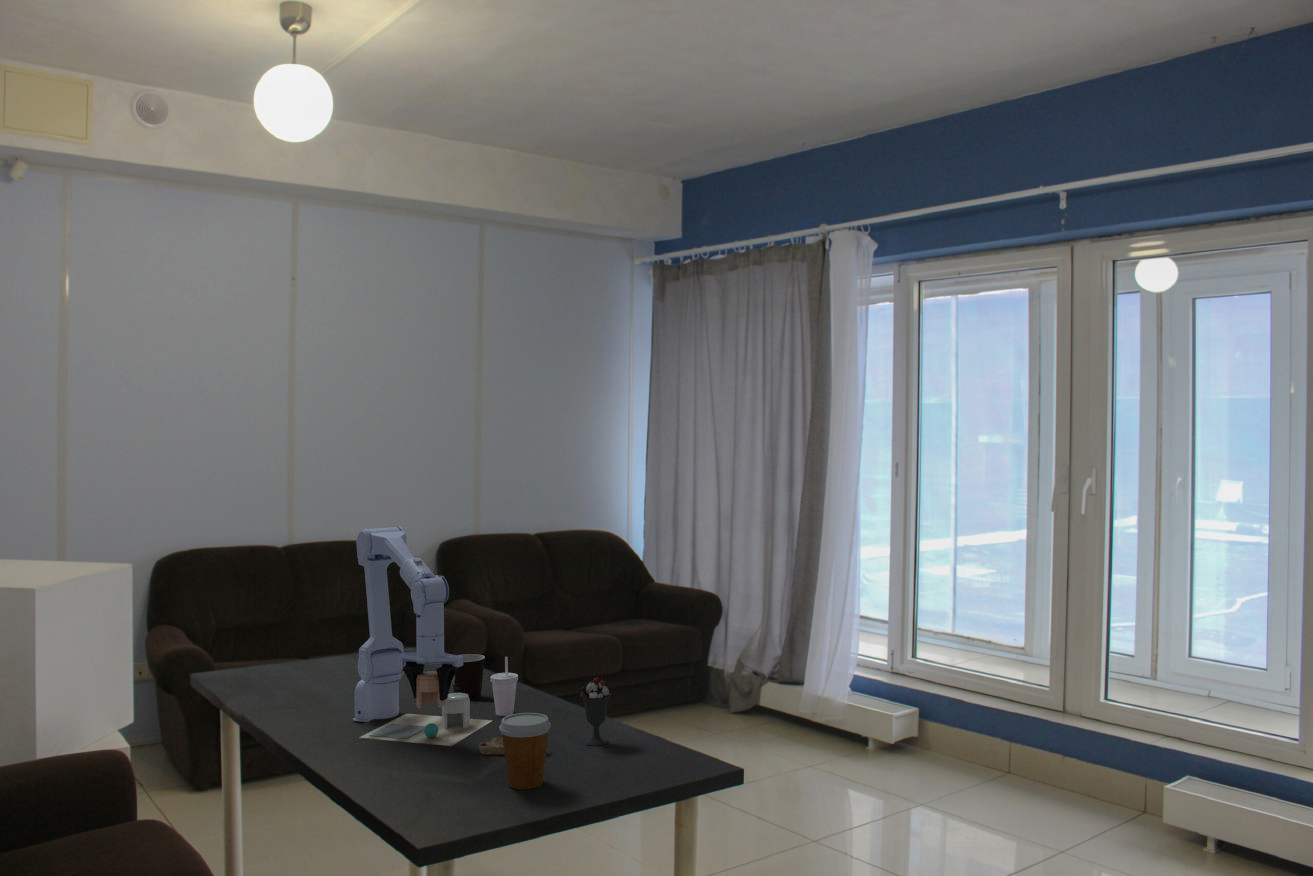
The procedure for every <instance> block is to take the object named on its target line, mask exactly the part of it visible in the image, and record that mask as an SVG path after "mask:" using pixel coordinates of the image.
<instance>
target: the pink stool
mask: <svg viewBox="0 0 1313 876" xmlns="http://www.w3.org/2000/svg"><path fill="white" fill-rule="evenodd" d="M415 700H416V701H415V703H416V705H415V706H416V707H417V708H418V709H422V705H424V704H430V703H437V708H440V709H441V708H442V706H444V705H445V700H444V701H440V697H439V679H438V675H437V671H436V670H433V671H432V670H431V671H423V672H422V673H419V674H418V675H417V677H416V699H415Z"/></svg>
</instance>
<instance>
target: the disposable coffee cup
mask: <svg viewBox="0 0 1313 876" xmlns="http://www.w3.org/2000/svg"><path fill="white" fill-rule="evenodd" d="M551 727H552V725H551V722H550V721H549V717H548V716H547V715H546V714H544V713H537V712H520V713H519V712H518V713H513V714H512V715H508V716H503V718H502V719H501V722H500V725H499V727H498V728H499V731H500V733H501V736H502V738H503V746H504V753H505V755H504V759H505V760H504V761H505V767H506V775H507V782H508V783H507V784H508V786H509V787H510V788H513V789H514V790H515V789H516V790H530V789H531V790H532V789H534V788H535V789H536V788H538V787H541V785H543V784H544V783H543V782H544V781H543V780H544V774H545V773H544V772H545V763H546V755H547V745H548V740H549V739H548V737H549V736H548V735H549V732H550V728H551Z"/></svg>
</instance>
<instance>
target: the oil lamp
mask: <svg viewBox="0 0 1313 876" xmlns="http://www.w3.org/2000/svg"><path fill="white" fill-rule="evenodd" d="M478 750H479V752H480V753H481V754H482V755H486V756H487V755H496V756H497V755H500V756H505V753H504V746H503V738H502V735H501V736H499V737H493V738H491V739H490V740H489V741H485V742H483V741H480V743H478Z"/></svg>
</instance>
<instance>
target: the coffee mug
mask: <svg viewBox="0 0 1313 876" xmlns="http://www.w3.org/2000/svg"><path fill="white" fill-rule="evenodd" d="M457 656H463V665H462V666H460V667H458V669H457V671H456V673H455V675H454V677H453V680H452V682H451V683H452V687H453V693H466V694H468V697H469V698H470V702H475V701H478V700H480V699H481V698H482V689H483V678H484V668H485V660H486V659H485V658H486V657H485V655H482V654H478V653H477V654H474V653H473V654H471V653H467V654H459V655H457ZM477 699H478V700H477ZM474 700H475V701H474Z"/></svg>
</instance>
